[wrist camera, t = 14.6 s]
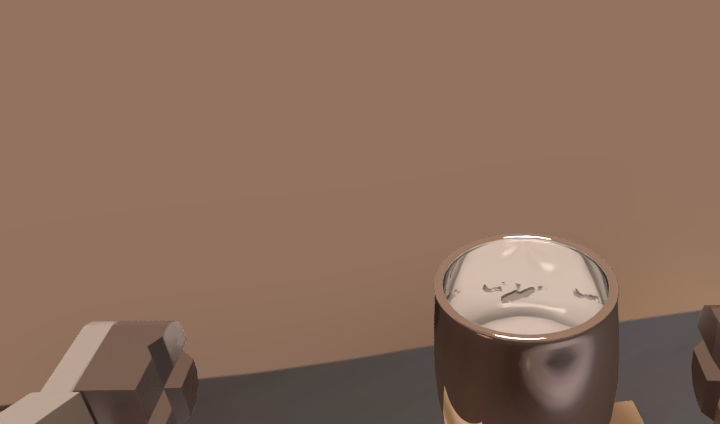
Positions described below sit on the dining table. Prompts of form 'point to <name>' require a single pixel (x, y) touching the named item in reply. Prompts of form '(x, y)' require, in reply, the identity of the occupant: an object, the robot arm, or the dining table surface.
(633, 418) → the placemat
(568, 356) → the beer glass
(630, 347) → the dining table surface
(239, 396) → the dining table surface
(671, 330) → the dining table surface
